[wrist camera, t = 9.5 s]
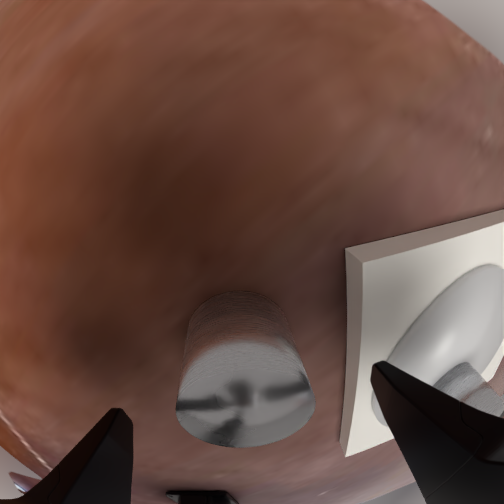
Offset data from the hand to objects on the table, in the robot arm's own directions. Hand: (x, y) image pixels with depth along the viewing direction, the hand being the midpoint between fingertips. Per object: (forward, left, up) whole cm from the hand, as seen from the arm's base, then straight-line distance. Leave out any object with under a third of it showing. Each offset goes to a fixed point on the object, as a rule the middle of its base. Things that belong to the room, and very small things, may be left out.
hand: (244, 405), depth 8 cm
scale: (-5, -13, -4) cm, 14 cm away
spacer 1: (0, 0, -4) cm, 4 cm away
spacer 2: (-7, -12, -2) cm, 14 cm away
